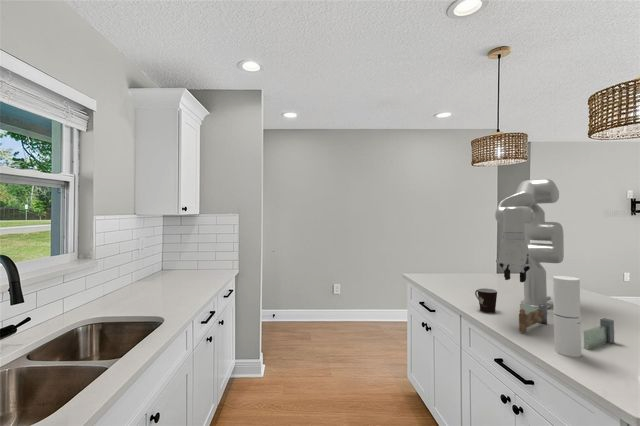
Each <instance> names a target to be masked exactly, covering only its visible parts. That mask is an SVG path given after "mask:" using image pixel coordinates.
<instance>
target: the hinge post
mask: <svg viewBox="0 0 640 426" xmlns="http://www.w3.org/2000/svg"><path fill="white" fill-rule="evenodd" d="M520 309H524V310H525V314H528V313H530V312H533V311H535V310H538V309H541V310H542V311H543V320H542V321H540V322H538V323H537V324H540V325H545V326H547V325H548V309H547V305H546V304H539V308H537V307H533V306H529V305H525V304H521V303H519V310H520Z"/></svg>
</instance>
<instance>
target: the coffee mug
mask: <svg viewBox="0 0 640 426" xmlns="http://www.w3.org/2000/svg"><path fill="white" fill-rule="evenodd" d="M474 295H475V297H476V298H477V299H478V303H479V311H480V312H482V313H485V314H486V313H487V314H495V313H496V308H497V300H498V299H497V298H498V290H496V289H494V288H487V287H486V288H485V287H483V288H482V287H481V288H477V289H476V290H475V292H474Z"/></svg>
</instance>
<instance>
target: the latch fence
mask: <svg viewBox="0 0 640 426" xmlns="http://www.w3.org/2000/svg"><path fill="white" fill-rule="evenodd" d="M599 323H600V325H599V326H596V327H593V328H589V329H586V330H583V348H584V349H585V350H591V349H594V348H597V347H600V346H603V345H606V344H608V345H611V344H615V320H614V319H610V318H606V317H605V318H600V320H599Z"/></svg>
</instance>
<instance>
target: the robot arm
mask: <svg viewBox="0 0 640 426" xmlns="http://www.w3.org/2000/svg"><path fill="white" fill-rule="evenodd" d="M559 199H560V191H559V188H558V186H557V185H556V183H555V181H553V180H552V179H551V178H534V179H527V180H523V181H522V182H521V183H519V184H518V186H517V189H516V191H515V194H511V195H510V196H509V197H506V198H504V199H502V200H501V201H500V202H499V203H498V205H497V207H496V210H495V214H494V216H495V220H496V221H497V223H499V224H502V225H503V227H502V228H503V232H502V233H500V235H499V236H500V237H501V238H503V239H501V240H500V244H499V256H498V257H497V259H496V260H495V262H496V263H497V264H498V265H499V267H500V268H502V270H503V276H504V280H505V281H508V280H510V279H511V270H510V266H511V265H512V266H513V265H514V266H519V269H520V272H519V282H520V283H523V290H524V291H523V300H520V304H525V305H529V306H533V307H537V308H539V304H546V305H547V310H548V309H550V308H551V307H552V305H551V304H550V303H548V301H551V300H552V298H551V297H552V296H548V293H547V292H548V291H547V271H546V269H545V268H544V266H543V265H542V263H545V264H561V263H563V261H564V254H565V253H564V252H565V251H564V250H565V247H564V246H565V243H564V241H565V240H564V238H565V237H564V229H563V225H562V224H561V223H560V222H558V221H546V218H545V217H546V214H545V211H544V209H543V208H542V207H541V206H540V205H539V204H555V203H557V202H558V200H559ZM526 239H527V240H528V241H529V240H530V241H537V242H538V243H537V242H528V241H527V240H526ZM539 241H540V242H539ZM541 242H551V243H541Z"/></svg>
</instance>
